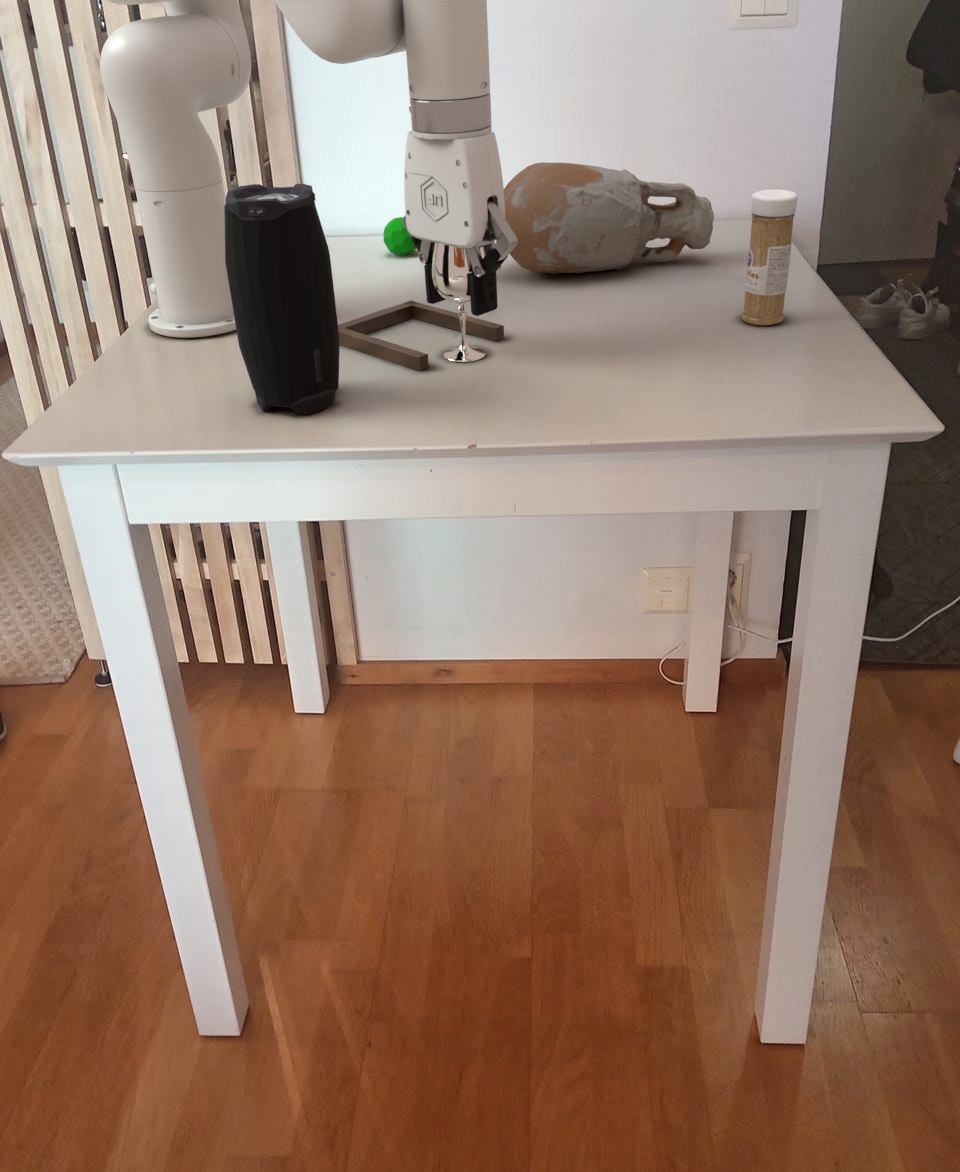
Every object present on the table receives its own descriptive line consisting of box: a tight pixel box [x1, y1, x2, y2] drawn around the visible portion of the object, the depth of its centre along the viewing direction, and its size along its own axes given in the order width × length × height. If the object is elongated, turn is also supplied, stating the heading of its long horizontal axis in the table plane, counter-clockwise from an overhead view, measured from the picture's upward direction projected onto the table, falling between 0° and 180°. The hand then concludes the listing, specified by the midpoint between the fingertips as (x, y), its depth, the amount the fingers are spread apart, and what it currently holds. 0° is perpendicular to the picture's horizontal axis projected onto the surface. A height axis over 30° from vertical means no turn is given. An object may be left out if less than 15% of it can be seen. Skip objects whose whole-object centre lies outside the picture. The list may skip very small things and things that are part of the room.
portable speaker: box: [224, 183, 341, 416], centre depth 98 cm, size 9×9×20 cm
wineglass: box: [432, 243, 487, 363], centre depth 109 cm, size 6×6×12 cm
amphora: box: [503, 162, 715, 275], centre depth 134 cm, size 14×16×30 cm
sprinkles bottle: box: [741, 189, 798, 326], centre depth 114 cm, size 5×5×14 cm
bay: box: [338, 300, 505, 372], centre depth 117 cm, size 15×12×2 cm
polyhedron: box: [383, 216, 417, 257], centre depth 147 cm, size 5×5×5 cm
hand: (461, 304), depth 110 cm, fingers closed on wineglass, 5 cm apart
